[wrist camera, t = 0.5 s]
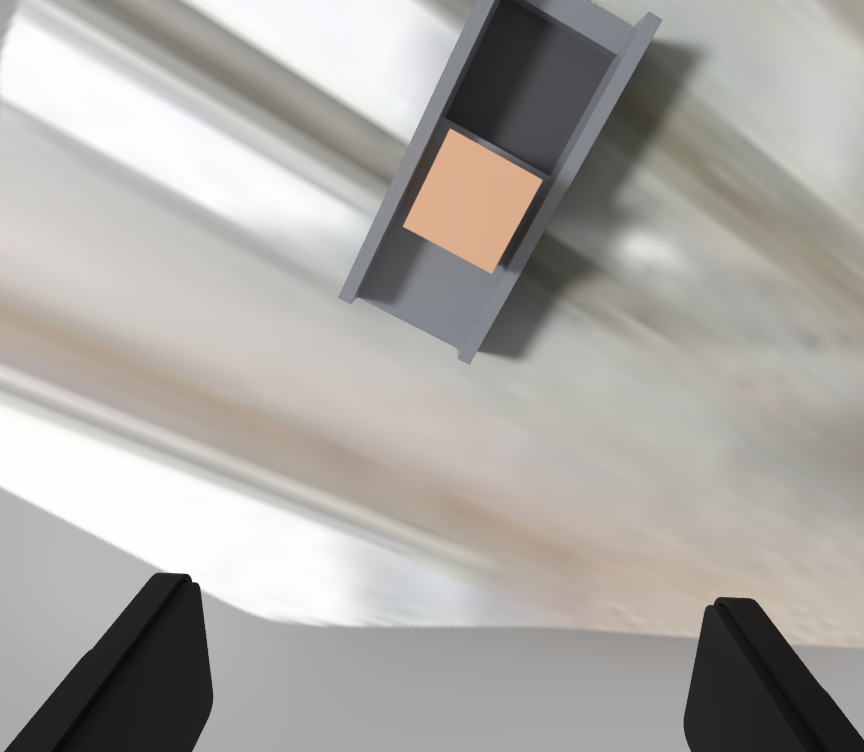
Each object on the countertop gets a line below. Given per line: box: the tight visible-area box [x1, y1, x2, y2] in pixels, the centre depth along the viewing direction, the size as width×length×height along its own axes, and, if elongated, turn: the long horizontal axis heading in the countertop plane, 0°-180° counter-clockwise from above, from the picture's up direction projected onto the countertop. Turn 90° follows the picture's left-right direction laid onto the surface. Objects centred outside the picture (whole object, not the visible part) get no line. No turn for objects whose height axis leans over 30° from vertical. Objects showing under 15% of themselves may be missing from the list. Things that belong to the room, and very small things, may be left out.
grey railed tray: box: [338, 0, 662, 365], centre depth 32 cm, size 20×9×4 cm, turn 153°
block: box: [403, 129, 543, 274], centre depth 30 cm, size 5×5×6 cm
